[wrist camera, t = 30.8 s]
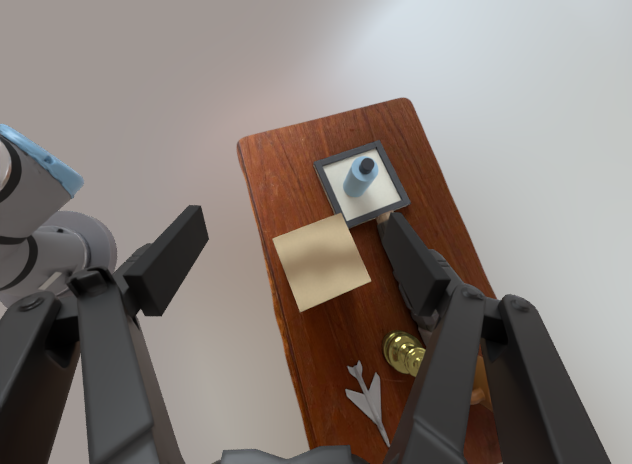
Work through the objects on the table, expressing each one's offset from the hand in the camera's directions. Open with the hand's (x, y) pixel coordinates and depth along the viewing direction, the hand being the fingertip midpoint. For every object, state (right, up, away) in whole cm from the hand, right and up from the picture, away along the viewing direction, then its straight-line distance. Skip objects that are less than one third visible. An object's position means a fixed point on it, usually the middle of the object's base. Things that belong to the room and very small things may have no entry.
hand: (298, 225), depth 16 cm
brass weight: (+19, -26, +33) cm, 46 cm away
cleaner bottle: (+11, +11, +38) cm, 41 cm away
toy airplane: (+12, -34, +31) cm, 47 cm away
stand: (+1, -8, +35) cm, 36 cm away
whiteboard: (+12, +11, +40) cm, 43 cm away
